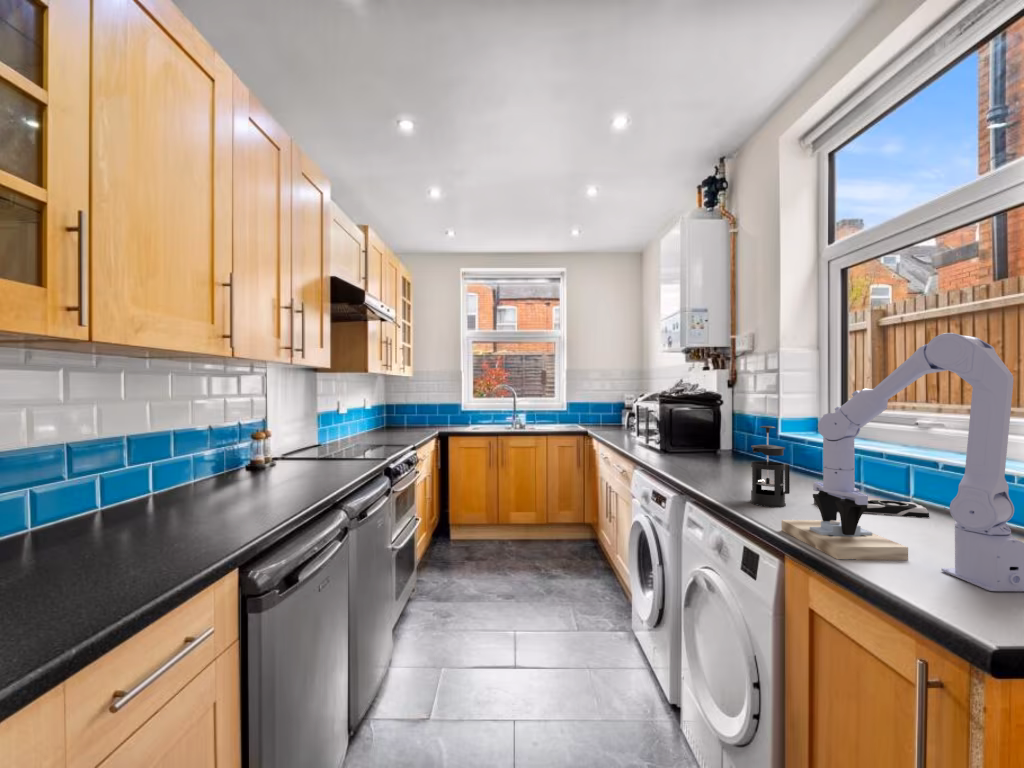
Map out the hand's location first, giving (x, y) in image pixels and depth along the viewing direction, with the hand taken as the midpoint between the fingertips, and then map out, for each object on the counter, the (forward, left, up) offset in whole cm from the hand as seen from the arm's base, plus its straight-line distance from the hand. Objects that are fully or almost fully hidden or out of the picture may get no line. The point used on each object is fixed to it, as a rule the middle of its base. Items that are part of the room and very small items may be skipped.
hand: (838, 530), depth 106 cm
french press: (+38, -5, -3) cm, 38 cm away
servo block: (0, 0, -3) cm, 3 cm away
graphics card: (+30, -29, -4) cm, 42 cm away
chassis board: (0, 0, -3) cm, 3 cm away
